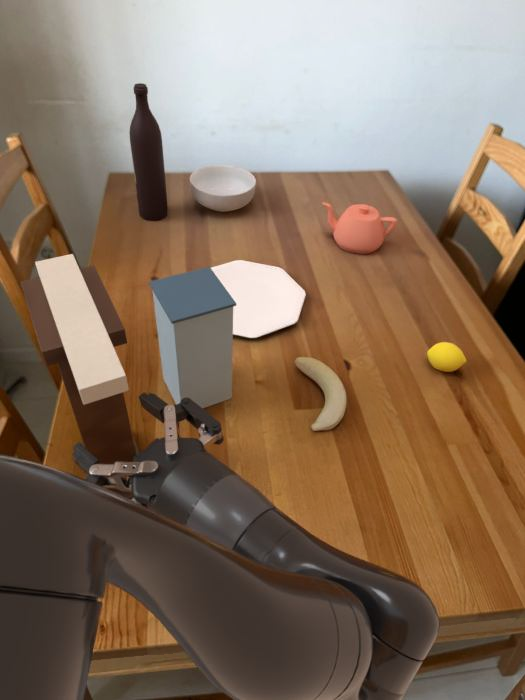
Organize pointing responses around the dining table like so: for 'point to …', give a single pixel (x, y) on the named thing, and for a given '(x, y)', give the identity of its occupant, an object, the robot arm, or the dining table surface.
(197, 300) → the container
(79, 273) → the slat
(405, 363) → the dining table surface
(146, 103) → the wine bottle
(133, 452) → the stand
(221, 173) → the cereal bowl
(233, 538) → the robot arm
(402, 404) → the dining table surface
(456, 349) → the lemon
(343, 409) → the fruit
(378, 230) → the teapot
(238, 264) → the plate
